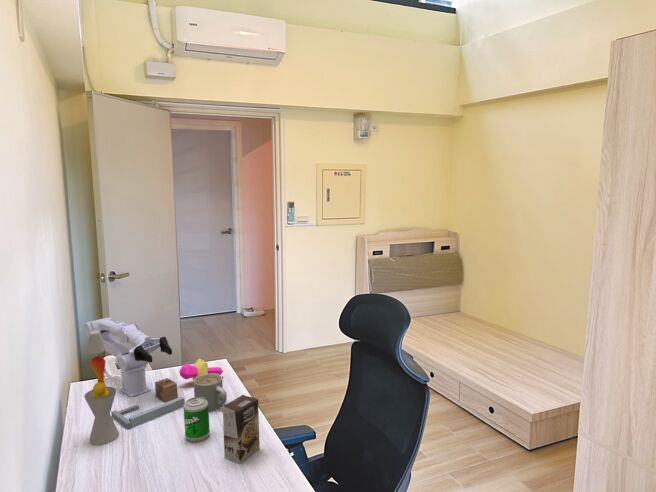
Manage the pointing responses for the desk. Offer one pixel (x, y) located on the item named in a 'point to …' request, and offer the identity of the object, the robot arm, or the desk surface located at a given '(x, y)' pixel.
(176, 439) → the desk surface
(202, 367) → the toy
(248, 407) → the coffee box
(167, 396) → the cardboard box
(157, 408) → the grey j-shaped hook
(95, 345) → the lava lamp
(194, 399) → the soda can
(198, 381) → the coffee mug
